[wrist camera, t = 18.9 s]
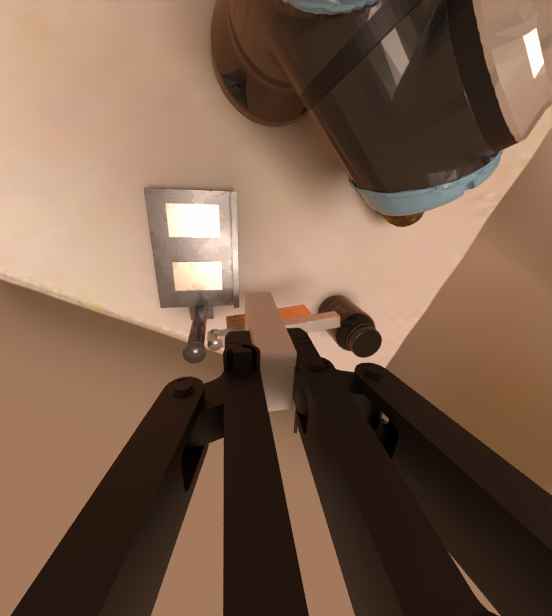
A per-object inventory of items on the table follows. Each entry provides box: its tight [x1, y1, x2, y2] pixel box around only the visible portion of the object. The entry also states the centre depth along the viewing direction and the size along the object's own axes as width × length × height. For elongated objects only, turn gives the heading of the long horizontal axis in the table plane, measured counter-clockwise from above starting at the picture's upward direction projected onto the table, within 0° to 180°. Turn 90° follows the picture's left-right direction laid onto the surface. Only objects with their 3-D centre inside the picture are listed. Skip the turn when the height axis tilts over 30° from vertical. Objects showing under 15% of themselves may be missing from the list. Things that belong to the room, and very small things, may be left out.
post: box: [183, 306, 213, 363], centre depth 38 cm, size 4×4×15 cm
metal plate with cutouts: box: [144, 188, 239, 308], centre depth 40 cm, size 17×12×3 cm
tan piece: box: [207, 305, 340, 351], centre depth 38 cm, size 18×2×7 cm, turn 95°
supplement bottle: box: [319, 296, 382, 358], centre depth 45 cm, size 7×7×12 cm
